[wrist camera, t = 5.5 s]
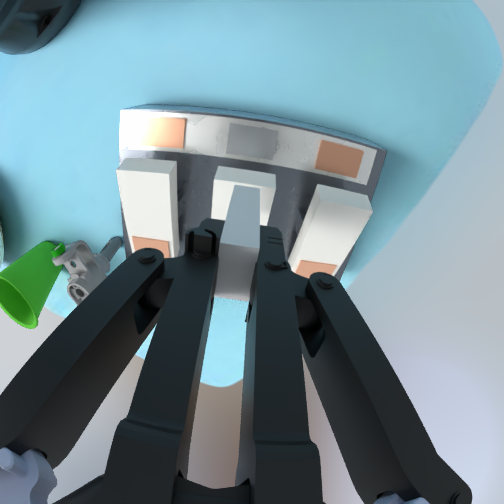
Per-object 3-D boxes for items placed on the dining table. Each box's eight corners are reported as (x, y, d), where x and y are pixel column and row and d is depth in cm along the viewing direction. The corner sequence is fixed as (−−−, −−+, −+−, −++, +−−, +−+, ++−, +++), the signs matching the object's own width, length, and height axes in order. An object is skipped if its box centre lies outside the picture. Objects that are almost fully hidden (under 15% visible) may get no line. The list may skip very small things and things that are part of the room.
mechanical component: (107, 202, 28) (59, 249, 20) (143, 271, 33) (115, 329, 25) (89, 209, 28) (43, 256, 20) (126, 275, 34) (96, 331, 26)
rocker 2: (218, 165, 18) (213, 180, 17) (275, 174, 18) (275, 189, 17) (211, 253, 25) (208, 269, 23) (255, 259, 25) (254, 276, 24)
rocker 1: (126, 157, 18) (115, 170, 16) (176, 161, 18) (168, 175, 17) (139, 242, 24) (132, 258, 23) (179, 248, 24) (174, 264, 23)
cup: (83, 278, 35) (48, 332, 25) (46, 278, 35) (13, 325, 26) (59, 225, 30) (12, 275, 20) (24, 232, 30) (-19, 275, 21)
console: (143, 104, 22) (113, 111, 17) (366, 139, 24) (393, 154, 18) (142, 242, 31) (123, 274, 26) (324, 268, 32) (334, 304, 27)
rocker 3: (317, 184, 18) (320, 201, 17) (367, 195, 19) (373, 213, 17) (287, 261, 25) (287, 278, 24) (327, 267, 26) (329, 284, 24)
